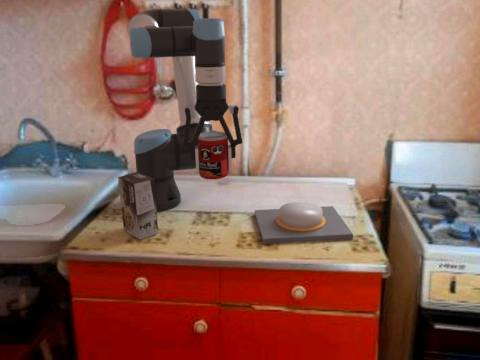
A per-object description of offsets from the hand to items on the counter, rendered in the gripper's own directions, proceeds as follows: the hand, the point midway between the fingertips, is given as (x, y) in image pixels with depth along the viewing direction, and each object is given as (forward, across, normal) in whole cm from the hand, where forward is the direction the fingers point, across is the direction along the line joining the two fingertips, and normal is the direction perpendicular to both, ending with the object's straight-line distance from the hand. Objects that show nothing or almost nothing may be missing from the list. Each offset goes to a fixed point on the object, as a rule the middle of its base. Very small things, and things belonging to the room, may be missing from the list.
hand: (213, 170), depth 127 cm
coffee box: (+19, -21, +4) cm, 28 cm away
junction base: (+18, +24, +2) cm, 30 cm away
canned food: (+2, 0, 0) cm, 2 cm away
